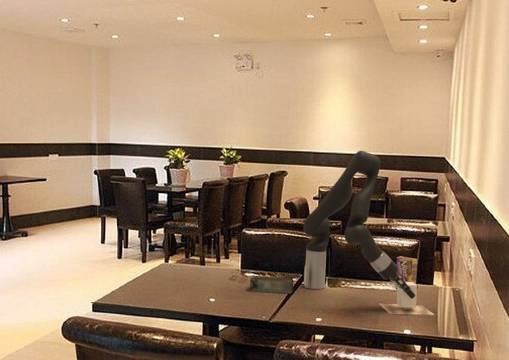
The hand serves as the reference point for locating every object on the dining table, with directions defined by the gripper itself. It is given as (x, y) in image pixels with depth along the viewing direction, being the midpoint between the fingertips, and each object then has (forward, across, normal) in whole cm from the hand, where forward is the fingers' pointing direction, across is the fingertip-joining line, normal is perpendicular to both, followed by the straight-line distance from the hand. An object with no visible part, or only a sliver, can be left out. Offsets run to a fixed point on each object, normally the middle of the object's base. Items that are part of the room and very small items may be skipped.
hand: (410, 295), depth 235 cm
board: (+3, 0, +6) cm, 7 cm away
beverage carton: (-33, +28, +43) cm, 61 cm away
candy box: (+12, +38, -3) cm, 40 cm away
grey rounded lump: (+3, 0, +5) cm, 6 cm away
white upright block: (+2, 0, +4) cm, 5 cm away
